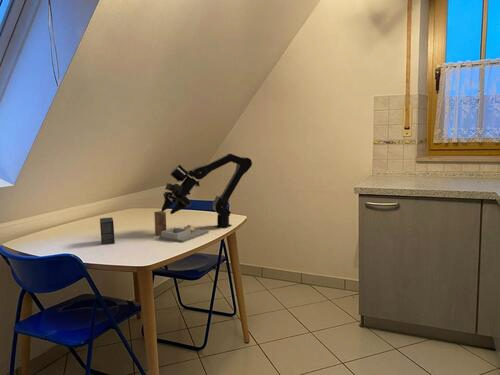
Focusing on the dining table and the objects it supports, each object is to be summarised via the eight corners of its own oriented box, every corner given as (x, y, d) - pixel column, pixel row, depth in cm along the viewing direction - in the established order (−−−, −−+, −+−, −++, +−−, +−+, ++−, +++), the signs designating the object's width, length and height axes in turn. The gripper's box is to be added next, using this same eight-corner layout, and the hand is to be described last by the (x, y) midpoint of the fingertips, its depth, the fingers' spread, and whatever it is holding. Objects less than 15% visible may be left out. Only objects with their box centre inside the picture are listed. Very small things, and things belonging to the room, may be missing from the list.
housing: (185, 229, 210) (185, 222, 209) (208, 232, 203) (208, 224, 202) (159, 238, 192) (158, 230, 192) (182, 242, 185) (182, 233, 185)
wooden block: (162, 232, 203) (161, 210, 202) (166, 234, 200) (165, 212, 199) (155, 234, 201) (154, 212, 200) (159, 235, 198) (158, 213, 196)
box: (101, 240, 190) (99, 218, 189) (114, 239, 192) (112, 217, 191) (101, 245, 183) (100, 221, 181) (114, 243, 185) (113, 220, 183)
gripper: (166, 175, 210) (146, 199, 204) (184, 178, 195) (164, 204, 190) (180, 189, 216) (161, 213, 210) (199, 193, 201) (179, 219, 196)
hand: (166, 212), depth 201 cm, fingers open, 9 cm apart
